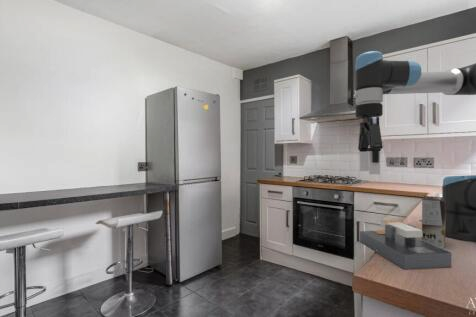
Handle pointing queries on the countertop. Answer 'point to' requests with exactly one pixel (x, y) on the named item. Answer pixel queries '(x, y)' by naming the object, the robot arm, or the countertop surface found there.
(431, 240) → the coffee box
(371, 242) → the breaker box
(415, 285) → the countertop surface
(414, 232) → the rocker
